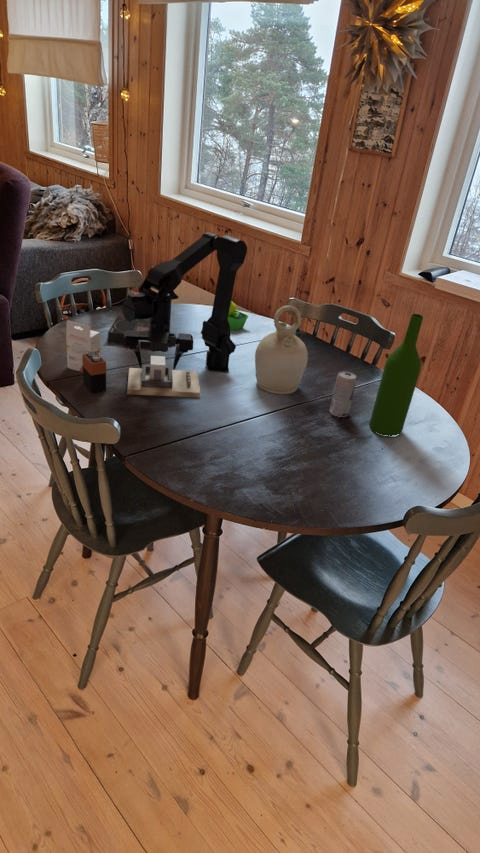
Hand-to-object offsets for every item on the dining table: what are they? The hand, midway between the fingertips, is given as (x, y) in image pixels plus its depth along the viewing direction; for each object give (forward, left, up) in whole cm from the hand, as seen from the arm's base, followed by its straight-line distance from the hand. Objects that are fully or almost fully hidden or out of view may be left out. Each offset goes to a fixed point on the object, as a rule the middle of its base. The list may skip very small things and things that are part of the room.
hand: (157, 368), depth 159 cm
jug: (-36, -3, -5) cm, 37 cm away
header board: (-2, 0, -5) cm, 5 cm away
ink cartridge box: (+21, -8, -5) cm, 23 cm away
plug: (0, 0, -4) cm, 4 cm away
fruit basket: (-27, -52, -5) cm, 59 cm away
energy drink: (-51, +13, -5) cm, 53 cm away
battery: (+17, +4, -5) cm, 18 cm away
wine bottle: (-62, +21, -5) cm, 66 cm away
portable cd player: (+6, -36, -6) cm, 37 cm away
